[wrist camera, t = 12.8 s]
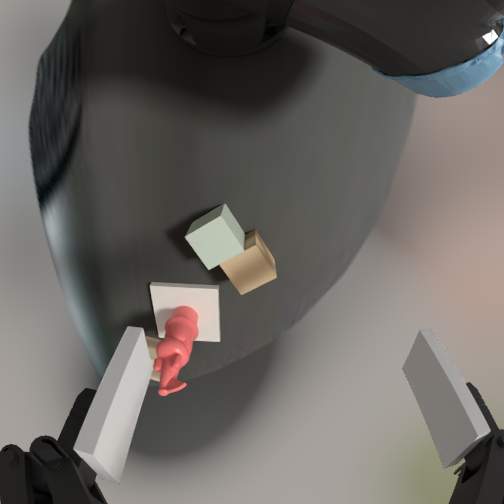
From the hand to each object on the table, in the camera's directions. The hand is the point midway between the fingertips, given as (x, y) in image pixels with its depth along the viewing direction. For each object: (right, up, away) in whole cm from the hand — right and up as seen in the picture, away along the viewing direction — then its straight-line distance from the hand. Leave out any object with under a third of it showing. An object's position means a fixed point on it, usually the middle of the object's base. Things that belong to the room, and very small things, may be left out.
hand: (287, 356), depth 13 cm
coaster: (-12, -4, +32) cm, 34 cm away
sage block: (-6, +8, +26) cm, 28 cm away
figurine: (-11, -5, +31) cm, 33 cm away
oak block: (-2, +5, +28) cm, 28 cm away
